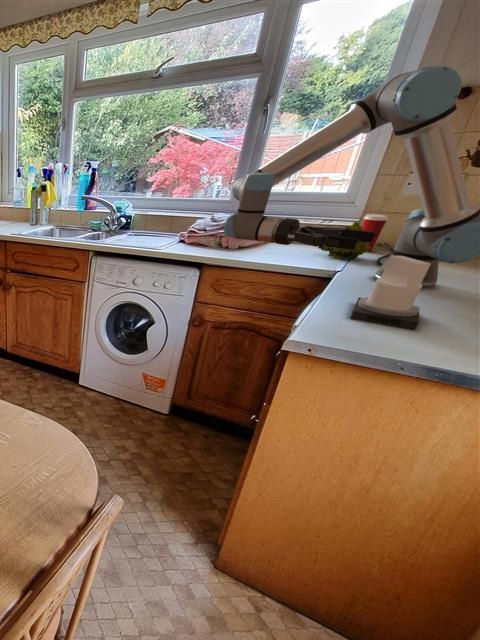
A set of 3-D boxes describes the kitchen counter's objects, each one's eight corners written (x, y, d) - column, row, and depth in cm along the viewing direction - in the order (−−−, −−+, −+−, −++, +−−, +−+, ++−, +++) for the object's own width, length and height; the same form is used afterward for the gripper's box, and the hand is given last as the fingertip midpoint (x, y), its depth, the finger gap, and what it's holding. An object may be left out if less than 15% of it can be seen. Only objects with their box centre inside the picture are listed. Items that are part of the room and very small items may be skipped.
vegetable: (360, 254, 161) (356, 216, 163) (315, 268, 176) (311, 233, 177) (384, 258, 166) (380, 221, 168) (338, 272, 181) (335, 237, 182)
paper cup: (372, 249, 185) (387, 214, 178) (375, 253, 179) (391, 217, 172) (349, 247, 189) (363, 213, 182) (351, 251, 183) (366, 216, 176)
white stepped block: (358, 299, 120) (377, 255, 114) (391, 299, 120) (412, 255, 114) (384, 310, 112) (406, 264, 106) (420, 310, 112) (444, 263, 106)
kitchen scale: (355, 304, 126) (360, 293, 125) (415, 314, 119) (421, 302, 117) (350, 318, 117) (355, 306, 115) (414, 330, 109) (421, 317, 107)
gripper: (292, 237, 140) (374, 248, 125) (256, 249, 128) (342, 262, 113) (300, 213, 137) (386, 220, 122) (264, 222, 124) (354, 232, 109)
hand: (365, 240), depth 117 cm, fingers open, 13 cm apart
